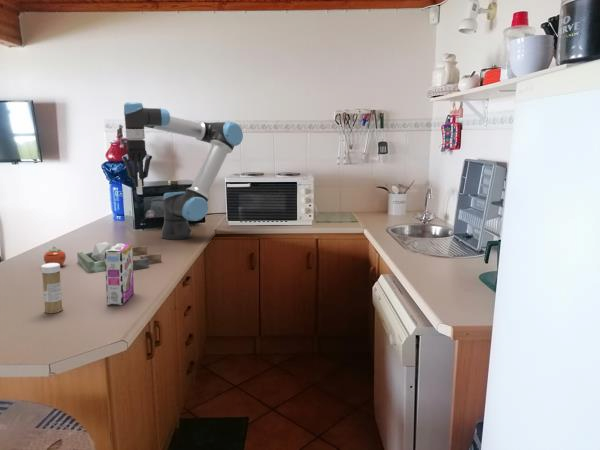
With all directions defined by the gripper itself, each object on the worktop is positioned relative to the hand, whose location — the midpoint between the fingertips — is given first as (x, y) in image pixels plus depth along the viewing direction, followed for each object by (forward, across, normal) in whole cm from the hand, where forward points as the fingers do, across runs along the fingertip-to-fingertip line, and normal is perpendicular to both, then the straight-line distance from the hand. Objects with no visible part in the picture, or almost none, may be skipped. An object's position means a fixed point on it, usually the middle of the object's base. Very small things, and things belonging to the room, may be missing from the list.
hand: (139, 194), depth 193 cm
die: (+24, -22, -14) cm, 35 cm away
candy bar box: (+24, -31, -60) cm, 72 cm away
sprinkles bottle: (+23, -49, -58) cm, 80 cm away
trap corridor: (+24, -17, -18) cm, 34 cm away
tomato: (+24, -38, -10) cm, 46 cm away
